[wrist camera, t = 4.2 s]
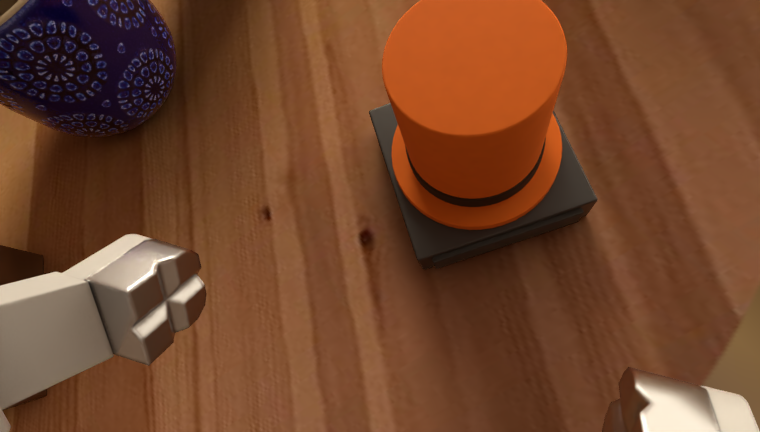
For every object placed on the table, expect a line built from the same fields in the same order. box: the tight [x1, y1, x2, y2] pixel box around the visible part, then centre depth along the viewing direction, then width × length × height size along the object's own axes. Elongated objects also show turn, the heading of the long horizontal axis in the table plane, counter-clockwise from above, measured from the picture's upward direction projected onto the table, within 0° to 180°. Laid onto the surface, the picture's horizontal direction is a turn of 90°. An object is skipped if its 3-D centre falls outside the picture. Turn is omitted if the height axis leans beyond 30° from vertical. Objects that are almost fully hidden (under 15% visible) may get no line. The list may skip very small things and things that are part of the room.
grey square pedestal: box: [369, 103, 597, 269], centre depth 25 cm, size 9×9×2 cm
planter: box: [0, 0, 176, 137], centre depth 28 cm, size 11×11×11 cm
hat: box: [382, 0, 567, 230], centre depth 20 cm, size 8×8×8 cm
